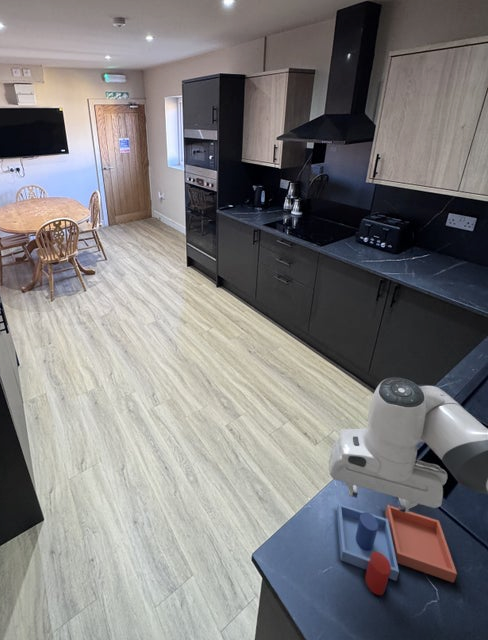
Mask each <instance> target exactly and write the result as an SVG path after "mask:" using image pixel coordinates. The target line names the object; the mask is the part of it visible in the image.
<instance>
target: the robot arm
mask: <svg viewBox="0 0 488 640" xmlns="http://www.w3.org/2000/svg"><path fill="white" fill-rule="evenodd" d="M367 413H368V414H367V421H368V424H367V425H366V427H363V428H362V427H361V428H341V429H339V432H338V439H337V440H335V442H334V443H333V445H332V447H331V449H330V452H329V456H328V474H329V476H330V477H331V478H332V479H333V480H335V481H339V482H342V483H345V486H346V487H347V490H348V496H349V497H352V498H355V499H357V498H358V494H359V492H358V487H359V488H363V489H365V490H370V491H373V492H376V493H380V494H383V495H386V496H390V497H393V498H397V508H399V511H402V512H405V513H408V511H410V509H412V508H414V507H417V506H418V505H421V506H425V507H429V508H432V509H438V508H439V507H441V506H442V503H443V497H444V488H443V487H444V485H445V484H446V483H447V480H448V472H447V471H446V470H445V469H443V468H442V467H441V466H440V465H438V464H436V463H430V462H426V461H423V460H421V459H417V455H418V444H420V443H425V444H426V445H427V446H428V448H430V450H432V452H433V453H434V454H435V455H436V456H437V457H438V458H439V459H440V460H441V462H442V463H443V465H444V466H445V467H446V468H447V470H448V471H449V472H450V474H451V475H452V476H453V477H454V479H455V480H456V481H457V483H458V484H459V485H460V486H462V487H464V488H466V489H469V490H471V491H474V492H476V493H480V494H484V495H488V428H487V427H486V426H485V425H483V424H482V423H481V422H480V421H479V420H478V419H476V418H475V417H474V416H473V415H472V414H471V413H469V411H467V410H466V409H465V408H464V407H463V405H461V404H460V403H459V402H458V401H456V400H455V399H454V398H453V397H452V396H450V395H449V394H448V393H447V392H446V391H444V390H443V389H442V388H439V387H438V386H436V385H433V384H432V385H431V384H416V383H415V382H413V381H411V380H409V379H405V378H401V377H388V378H385V379H383V380H382V381H380V382H379V384H378V385H377V386H376V388H375V391H374V392H373V394H372V397H371V399H370V404H369V409H368V412H367Z"/></svg>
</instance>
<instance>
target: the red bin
mask: <svg viewBox="0 0 488 640" xmlns="http://www.w3.org/2000/svg"><path fill="white" fill-rule="evenodd" d="M384 515H385V518H386V519H388V522H389V527H390V532H391V536H392V541H393V546H394V551H395V555H396V560H397V564H400V565H402V566H405V567H407V568H411V569H413V570H416V571H420V572H422V573H424V574H427V575H430V576H434V577H437V578H438V579H441V580H444V581H448V582H450V583H455V581H456V578H457V575H458V572H457V569H456V566H455V563H454V561H453V558H452V554H451V552H450V549H449V545H448V543H447V540H446V537H445V534H444V532H443V528H442V525H441V523H440V520H438V519H435V518H432V517H429V516H425V515H422V514H419V513H416V512H413V511H410V510H408V513H405V512H402V511H399V507H398V506H393V505H390V504H386V508H385V512H384Z"/></svg>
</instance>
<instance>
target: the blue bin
mask: <svg viewBox="0 0 488 640" xmlns="http://www.w3.org/2000/svg"><path fill="white" fill-rule="evenodd" d="M363 512H365V511H364V510H360V509H358V508H354V507H352V506H348V505H345V504H342V503H338V504H337V509H336V517H337V529H338V531H337V532H338V543H339V554H340V555H339V557H340V561H342V562H344V563H347V564H350V565H353V566H355V567H358V568H360V569H363V570H366V571H367V568H368V564H369V560H370V556H371V554H372V553H373V552H379V553H381V554H383V555H384V556H385V557H386V558H387V559H388V561H389V563H390V566H391V571H390V575H389V578H388V579H390V580H392V581H395V582H397V580H398V577H399V573H400V571H399V565H398V563H397V560H396V555H395V551H394V546H393V541H392V536H391V532H390V527H389V522H388V519H386V517H382V516H380V515H376V514H373V513H370V514H371V515H373V516H374V517H375V518H376V520H377V522H378V530H377V534H376V538H375V542H374V546H373V549H372V550H371V551H365V550H363V549H362V548H361V547H360V546H359V545H358V544H357V542H356V538H355V537H356V532H357V528H358V523H359V519H360V515H361V513H363Z"/></svg>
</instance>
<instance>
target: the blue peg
mask: <svg viewBox="0 0 488 640" xmlns="http://www.w3.org/2000/svg"><path fill="white" fill-rule="evenodd" d="M371 514H372V513H370V512H367V511H364V512H363V513H361V515H360V519H359V523H358V528H357V532H356V537H355V538H356V542H357V544H358V545H359V546H360V547H361V548H362V549H363V550H365V551H371V550H372V549H373V546H374V542H375V538H376V534H377V530H378V522H377V520H376V518H375V517H374V516H373V515H374V514H373V515H371Z"/></svg>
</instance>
